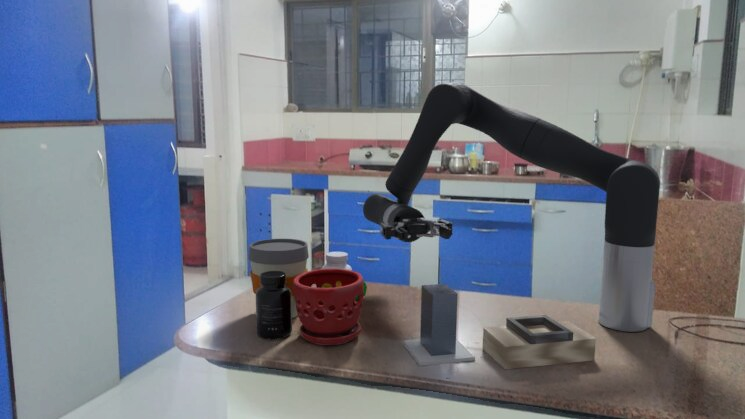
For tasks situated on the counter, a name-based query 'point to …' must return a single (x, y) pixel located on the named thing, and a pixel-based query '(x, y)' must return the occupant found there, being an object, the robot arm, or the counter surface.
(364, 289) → the polyhedron
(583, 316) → the counter surface
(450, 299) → the brushed metal block
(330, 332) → the plant pot
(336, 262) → the supplement bottle
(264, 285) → the supplement bottle
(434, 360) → the rubber mat
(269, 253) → the reusable coffee cup
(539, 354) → the tan piece
